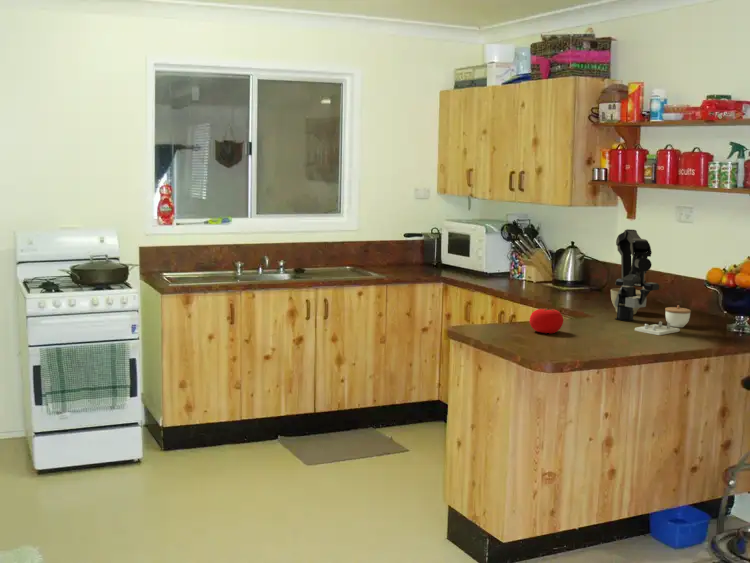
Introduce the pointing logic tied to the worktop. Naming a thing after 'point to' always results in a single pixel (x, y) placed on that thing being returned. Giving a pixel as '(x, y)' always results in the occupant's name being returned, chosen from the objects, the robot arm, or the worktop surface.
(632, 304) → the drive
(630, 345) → the worktop surface
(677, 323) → the lidded jar
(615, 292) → the planter bowl
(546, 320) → the tomato
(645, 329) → the white peg board
